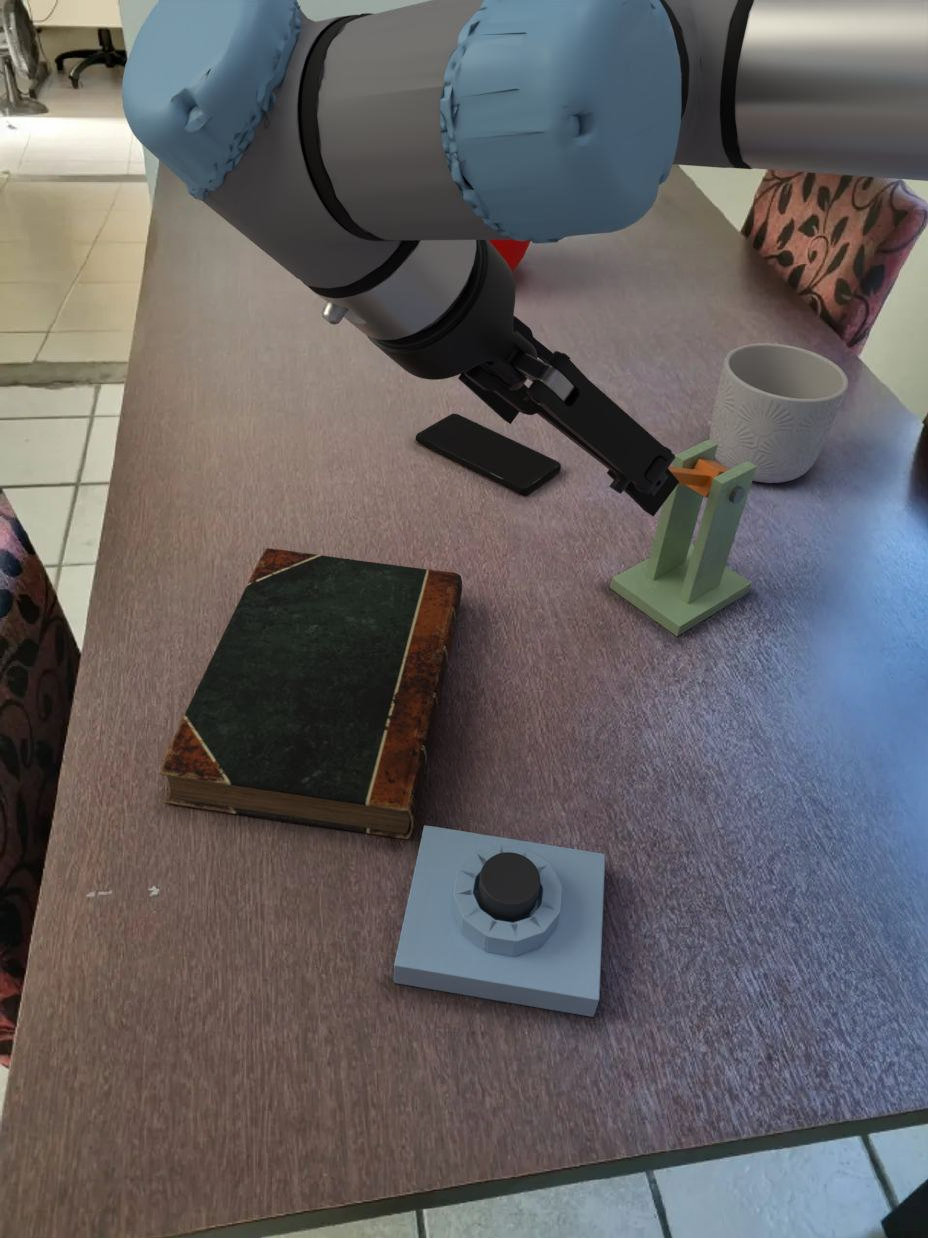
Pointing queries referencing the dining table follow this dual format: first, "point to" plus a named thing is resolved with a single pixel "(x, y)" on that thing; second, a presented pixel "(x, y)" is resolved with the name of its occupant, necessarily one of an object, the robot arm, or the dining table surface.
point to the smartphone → (489, 453)
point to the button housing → (504, 925)
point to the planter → (775, 409)
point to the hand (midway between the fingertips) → (586, 449)
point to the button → (509, 886)
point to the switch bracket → (691, 550)
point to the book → (320, 696)
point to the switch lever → (699, 475)
